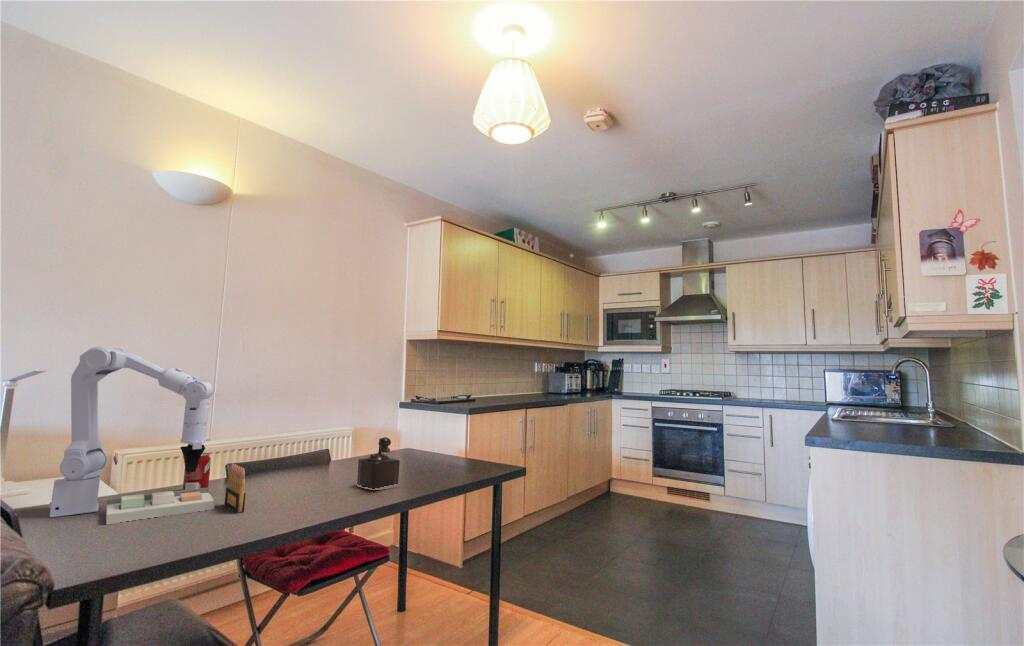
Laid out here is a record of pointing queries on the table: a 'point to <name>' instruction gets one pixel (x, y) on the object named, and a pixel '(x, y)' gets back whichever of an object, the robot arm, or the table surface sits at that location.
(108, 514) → the keypad
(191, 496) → the key right
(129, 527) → the table surface
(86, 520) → the table surface
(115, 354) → the robot arm
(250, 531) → the table surface
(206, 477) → the soda can
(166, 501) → the key middle
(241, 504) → the pencil pack
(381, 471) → the dark box with figurine
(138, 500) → the key left
